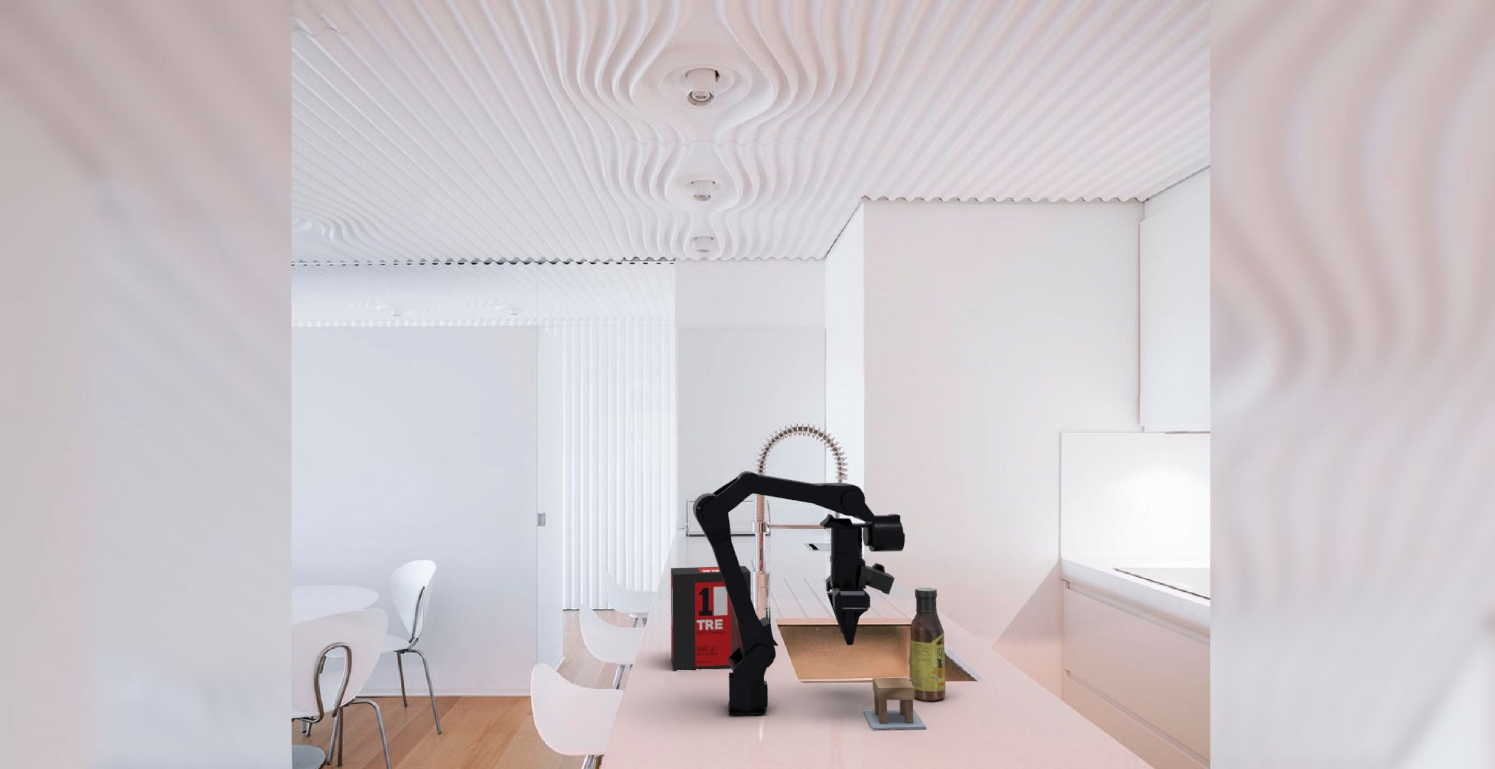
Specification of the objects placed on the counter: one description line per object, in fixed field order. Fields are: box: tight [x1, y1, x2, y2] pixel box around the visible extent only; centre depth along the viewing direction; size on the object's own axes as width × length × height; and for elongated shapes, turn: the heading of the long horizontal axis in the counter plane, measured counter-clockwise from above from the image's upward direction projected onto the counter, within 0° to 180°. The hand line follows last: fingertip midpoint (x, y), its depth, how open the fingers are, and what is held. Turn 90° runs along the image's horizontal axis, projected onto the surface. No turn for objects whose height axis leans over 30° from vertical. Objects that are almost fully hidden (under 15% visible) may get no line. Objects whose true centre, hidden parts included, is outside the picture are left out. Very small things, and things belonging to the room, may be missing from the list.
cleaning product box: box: [670, 565, 752, 672], centre depth 186 cm, size 16×9×20 cm, turn 98°
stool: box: [872, 677, 915, 724], centre depth 148 cm, size 6×6×6 cm
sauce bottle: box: [909, 587, 946, 702], centre depth 161 cm, size 6×6×20 cm
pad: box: [863, 709, 927, 730], centre depth 148 cm, size 9×9×1 cm
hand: (846, 638), depth 157 cm, fingers open, 9 cm apart
